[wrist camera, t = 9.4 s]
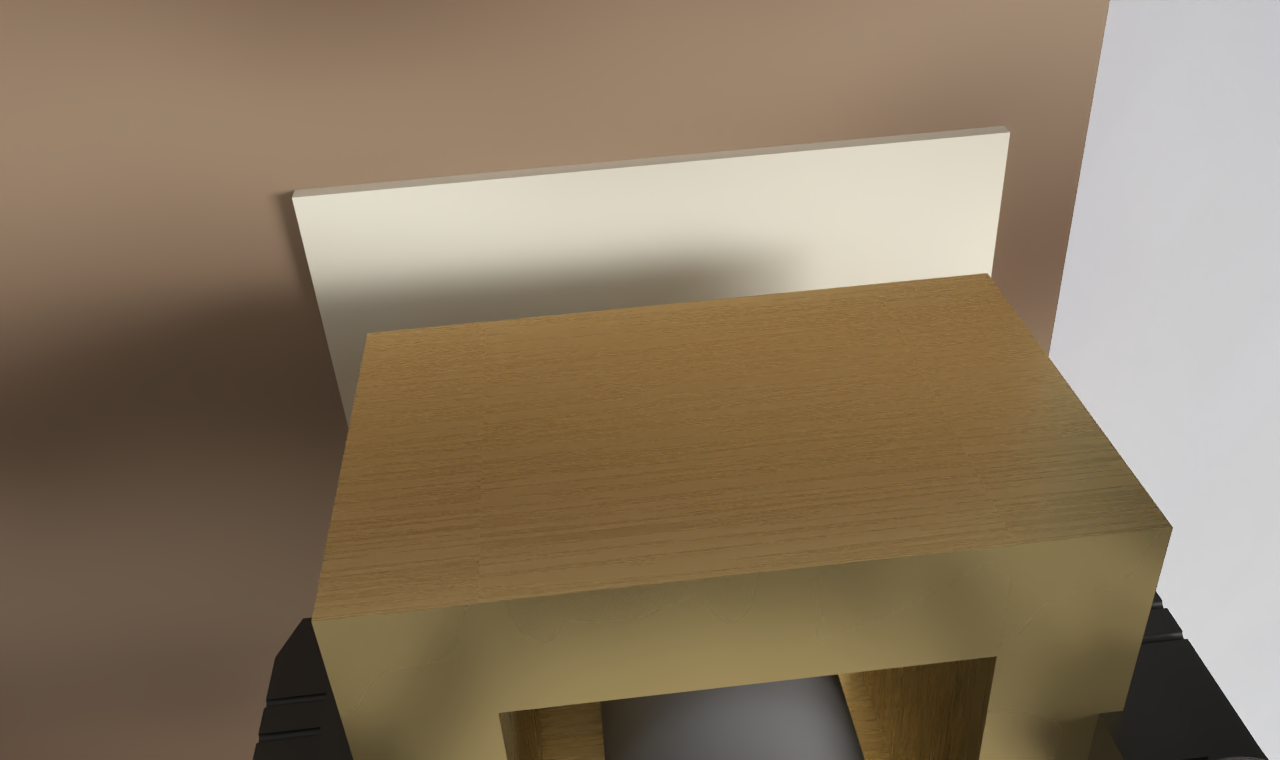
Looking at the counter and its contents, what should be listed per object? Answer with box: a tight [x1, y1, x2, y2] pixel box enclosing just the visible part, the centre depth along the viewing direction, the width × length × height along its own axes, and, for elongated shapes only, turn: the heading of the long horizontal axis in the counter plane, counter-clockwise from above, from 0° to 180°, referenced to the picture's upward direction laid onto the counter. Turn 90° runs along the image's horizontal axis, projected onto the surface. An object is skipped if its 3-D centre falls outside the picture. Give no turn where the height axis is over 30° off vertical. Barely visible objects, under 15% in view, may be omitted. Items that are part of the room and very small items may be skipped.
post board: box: [0, 0, 1110, 760], centre depth 12 cm, size 16×22×8 cm
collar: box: [311, 273, 1173, 760], centre depth 12 cm, size 6×6×4 cm
